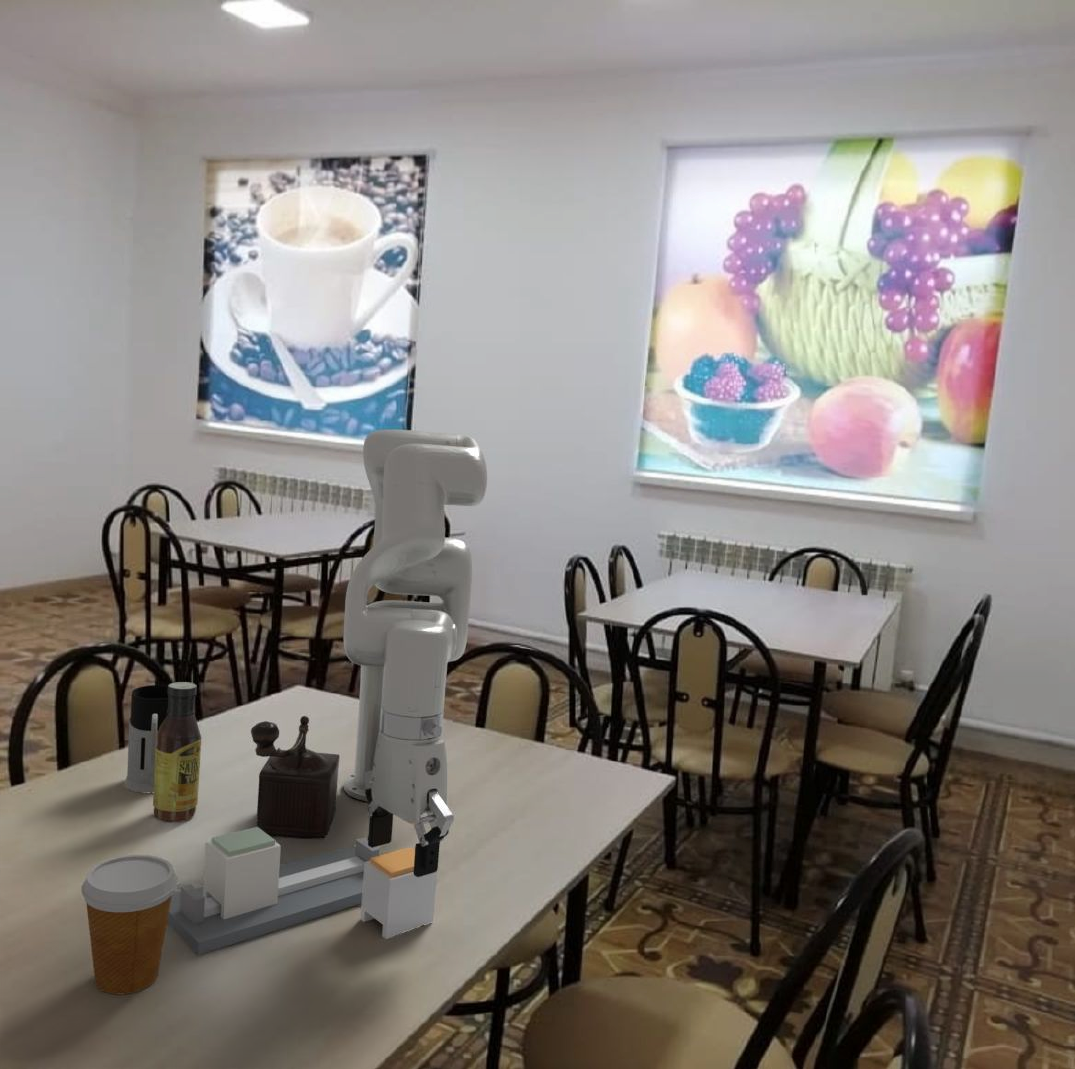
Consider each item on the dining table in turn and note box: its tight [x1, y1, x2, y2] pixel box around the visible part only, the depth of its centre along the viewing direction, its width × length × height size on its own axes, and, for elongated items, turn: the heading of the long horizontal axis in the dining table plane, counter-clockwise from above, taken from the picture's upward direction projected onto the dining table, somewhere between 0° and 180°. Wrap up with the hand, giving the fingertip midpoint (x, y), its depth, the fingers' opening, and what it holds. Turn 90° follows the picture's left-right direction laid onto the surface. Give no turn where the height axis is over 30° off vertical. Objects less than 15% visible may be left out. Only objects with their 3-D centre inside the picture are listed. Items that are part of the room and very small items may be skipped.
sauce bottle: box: [152, 681, 202, 823], centre depth 149 cm, size 6×6×20 cm
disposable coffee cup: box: [80, 854, 179, 995], centre depth 108 cm, size 10×10×12 cm
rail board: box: [167, 826, 381, 956], centre depth 128 cm, size 28×12×10 cm, turn 132°
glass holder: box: [123, 684, 169, 794], centre depth 158 cm, size 9×14×15 cm, turn 18°
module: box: [360, 846, 438, 940], centre depth 125 cm, size 7×6×8 cm
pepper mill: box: [250, 715, 340, 840], centre depth 147 cm, size 16×11×18 cm
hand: (401, 858), depth 124 cm, fingers open, 9 cm apart
